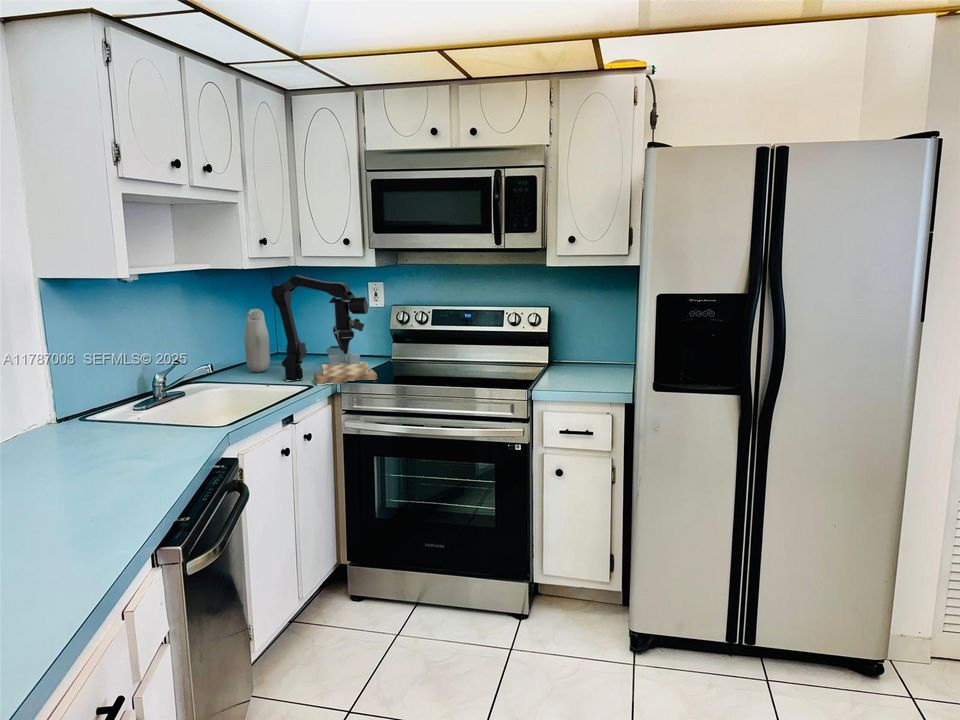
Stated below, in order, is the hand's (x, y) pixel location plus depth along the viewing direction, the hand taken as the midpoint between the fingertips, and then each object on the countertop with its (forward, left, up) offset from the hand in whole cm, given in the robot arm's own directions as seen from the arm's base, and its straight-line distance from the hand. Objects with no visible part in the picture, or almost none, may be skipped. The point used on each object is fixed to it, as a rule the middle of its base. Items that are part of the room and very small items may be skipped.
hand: (344, 352), depth 282 cm
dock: (0, 0, -12) cm, 12 cm away
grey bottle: (-33, +34, -12) cm, 49 cm away
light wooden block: (0, 0, -9) cm, 9 cm away
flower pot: (+2, +34, -12) cm, 36 cm away
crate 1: (-4, 0, -5) cm, 6 cm away
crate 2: (+4, 0, -5) cm, 6 cm away
